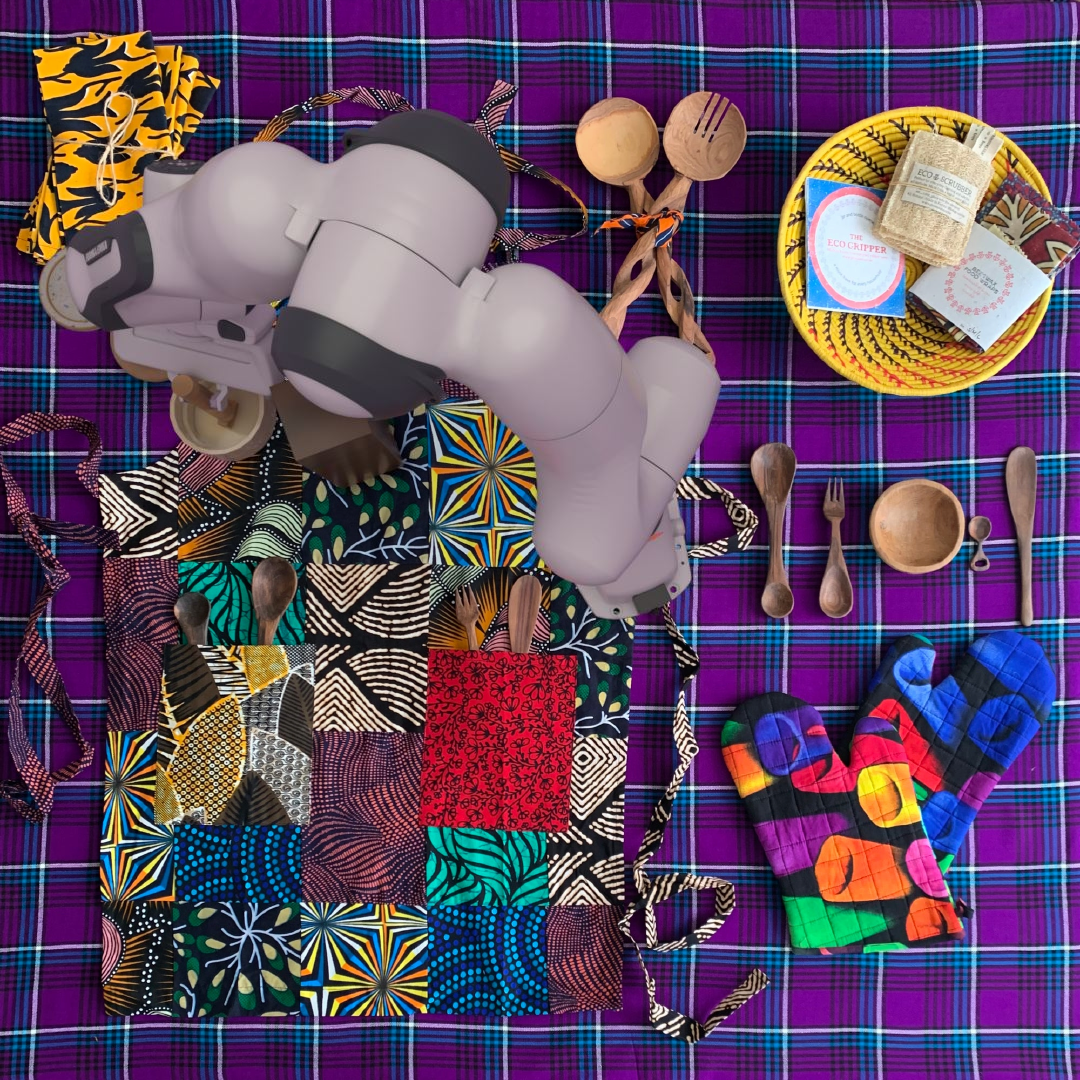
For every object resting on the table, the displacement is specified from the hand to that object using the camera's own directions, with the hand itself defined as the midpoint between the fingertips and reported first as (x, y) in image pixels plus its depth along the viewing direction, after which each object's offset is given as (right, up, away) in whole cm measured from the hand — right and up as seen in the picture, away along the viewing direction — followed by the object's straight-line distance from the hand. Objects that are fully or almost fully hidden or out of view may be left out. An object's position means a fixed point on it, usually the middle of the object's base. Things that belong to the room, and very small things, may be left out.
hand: (204, 404), depth 114 cm
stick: (0, 0, +9) cm, 9 cm away
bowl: (0, 0, +10) cm, 10 cm away
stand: (+18, -4, +9) cm, 21 cm away
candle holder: (-10, +11, +11) cm, 19 cm away
